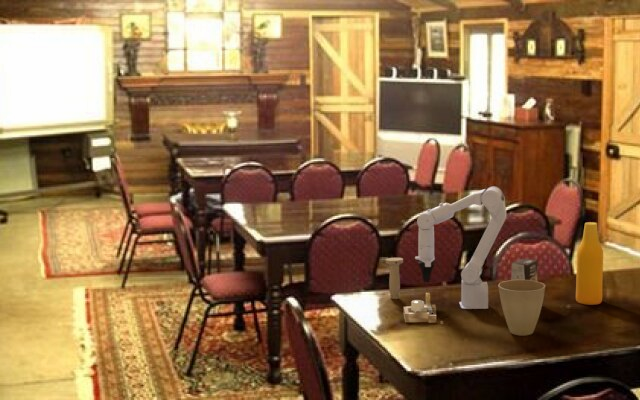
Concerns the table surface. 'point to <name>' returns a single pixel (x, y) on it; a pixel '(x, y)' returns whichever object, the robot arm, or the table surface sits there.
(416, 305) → the silver metal cylinder
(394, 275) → the handle
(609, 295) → the table surface
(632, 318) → the table surface
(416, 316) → the dock
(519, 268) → the coffee box
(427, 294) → the pin
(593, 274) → the beer bottle
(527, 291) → the plant pot
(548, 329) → the table surface
